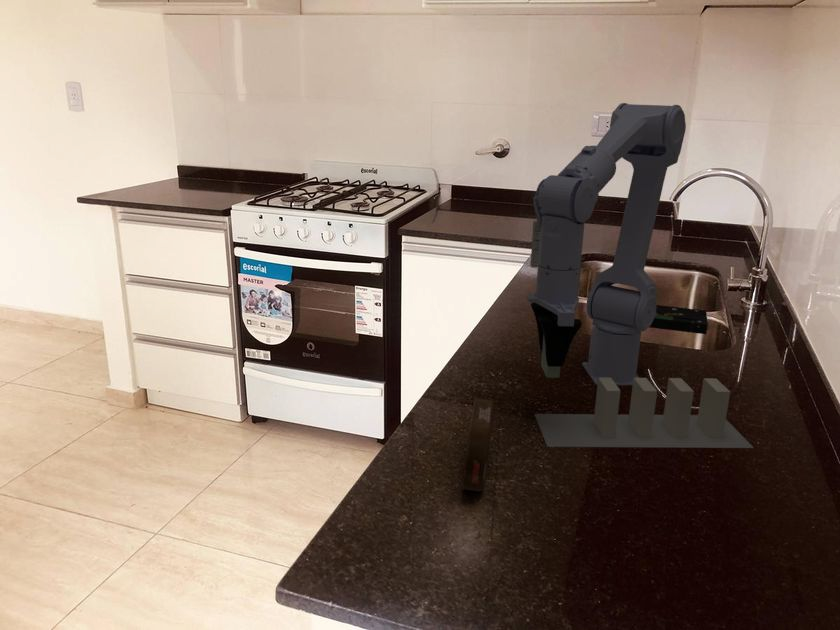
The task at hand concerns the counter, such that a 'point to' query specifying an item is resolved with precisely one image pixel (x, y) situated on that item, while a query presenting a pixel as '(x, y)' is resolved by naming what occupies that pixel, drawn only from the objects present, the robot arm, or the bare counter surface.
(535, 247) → the grey drawer cabinet
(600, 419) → the domino
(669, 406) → the domino
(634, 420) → the domino
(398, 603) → the counter surface
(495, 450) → the counter surface
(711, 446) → the mat
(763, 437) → the counter surface
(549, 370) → the domino
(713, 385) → the domino
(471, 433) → the dark translucent bar
